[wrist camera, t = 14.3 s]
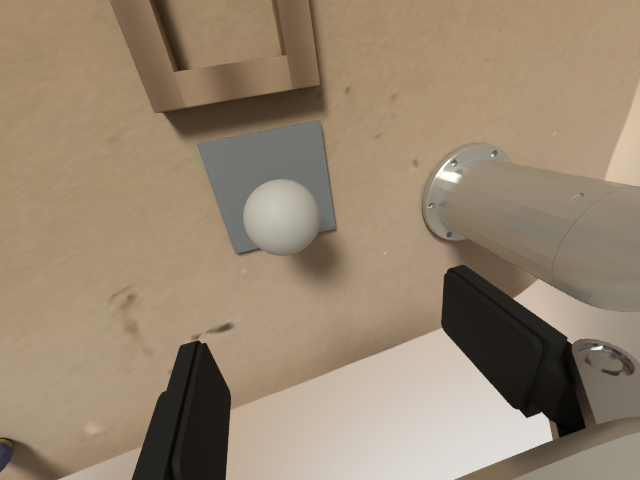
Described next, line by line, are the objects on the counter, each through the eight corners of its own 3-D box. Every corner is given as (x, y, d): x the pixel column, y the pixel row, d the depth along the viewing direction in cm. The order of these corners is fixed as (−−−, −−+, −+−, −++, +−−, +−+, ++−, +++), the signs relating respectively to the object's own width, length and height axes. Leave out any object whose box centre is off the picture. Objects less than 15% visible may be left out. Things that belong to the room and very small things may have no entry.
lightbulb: (292, 225, 31) (313, 276, 21) (237, 211, 29) (233, 261, 19) (309, 173, 29) (341, 203, 19) (252, 155, 27) (255, 178, 17)
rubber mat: (318, 120, 27) (320, 120, 27) (334, 226, 33) (335, 228, 32) (197, 143, 26) (196, 144, 25) (235, 251, 31) (235, 254, 31)
